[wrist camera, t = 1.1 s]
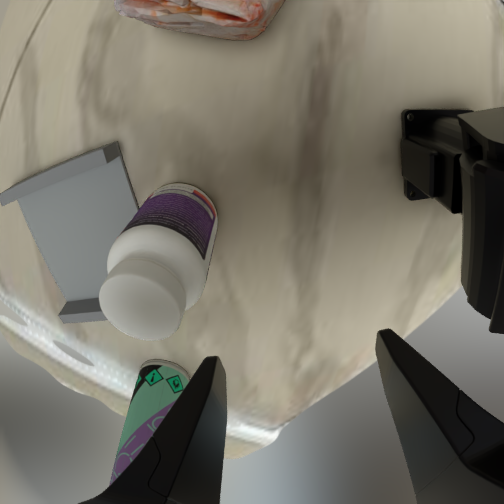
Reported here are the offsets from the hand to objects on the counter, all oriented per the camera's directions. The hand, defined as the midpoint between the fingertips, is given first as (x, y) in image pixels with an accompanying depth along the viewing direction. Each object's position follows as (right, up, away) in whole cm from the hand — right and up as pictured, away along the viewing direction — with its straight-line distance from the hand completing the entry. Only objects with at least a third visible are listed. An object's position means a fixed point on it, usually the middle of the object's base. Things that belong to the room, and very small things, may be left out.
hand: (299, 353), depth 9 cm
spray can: (-11, -10, +21) cm, 26 cm away
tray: (-15, +4, +13) cm, 20 cm away
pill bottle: (-7, +6, +12) cm, 15 cm away
